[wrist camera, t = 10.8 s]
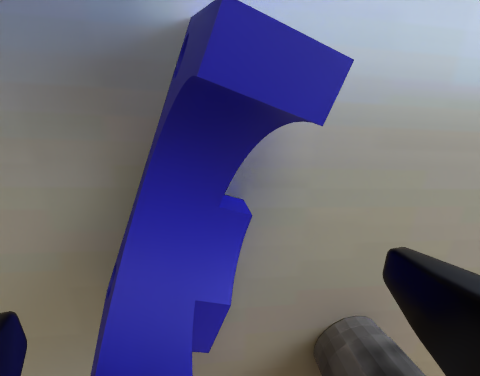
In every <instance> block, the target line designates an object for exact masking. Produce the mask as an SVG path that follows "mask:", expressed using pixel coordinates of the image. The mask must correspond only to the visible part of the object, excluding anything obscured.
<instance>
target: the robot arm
mask: <svg viewBox="0 0 480 376" xmlns="http://www.w3.org/2000/svg"><path fill="white" fill-rule="evenodd" d="M383 279H384V282H385V284H386V285H387V287H388V289H389V290H390V292H391V294H392V295H393V297H394V299H395V300H396V302H397V304H398V305H399V307H400V309H401V310H402V312H403V314H404V315H405V317H406V319H407V320H408V322H409V324H410V325H411V327H412V329H413V330H414V332H415V333H416V335H417V336H418V338H419V339H420V341H421V342H422V343H423V345H424V346H425V347H426V349H427V350H428V352H429V353H430V354H431V356H432V357H433V358H434V360H435V361H436V363H437V364H438V365H439V367H440V368H441V369H442V371H443V372H444V374H445V375H446V376H480V275H478V274H475V273H473V272H470V271H467V270H465V269H462V268H459V267H457V266H454V265H451V264H449V263H446V262H443V261H441V260H438V259H435V258H433V257H430V256H427V255H425V254H422V253H419V252H417V251H414V250H411V249H409V248H406V247H399V248H393V249H390V250H389V251H388V252H387V256H386V260H385V265H384V269H383ZM26 350H27V339H26V336H25V333H24V331H23V328H22V326H21V323H20V321H19V318H18V316H17V314H16V313H15V312H12V311H9V312H3V313H0V376H21V372H22V368H23V363H24V359H25V355H26Z"/></svg>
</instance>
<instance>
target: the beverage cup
mask: <svg viewBox="0 0 480 376" xmlns="http://www.w3.org/2000/svg"><path fill="white" fill-rule="evenodd" d="M314 357H315V359H316V362H317V364H318V366H319V369H320V372H321V375H322V376H426V375H425V374H424V373H423V372H422V371H421V370H420V369H419V368H418V367H417V366H416V365H415V364H414V363H413V362H412V360H411V359H410V358H409V357H408V356H407V355H406V354H405V353H404V352H403V351H402V350H401V349H400V348H399V347H398V345H397V344H396V343H395V342H394V341H393V340H392V339H391V338H390V337H388V336H387V335H386V334H385V333H384V332H383V331H382V330H381V329H380V328H379V327H378V326H377V325H376V324H375V322H374V321H373V320H372V319H370V318H367V317H364V316H354V317H350V318H345V319H343V320H341V321H339V322H337V323H335V324H333V325H332V326H331V327H329V328H328V329H327V330H325V331H324V333H323V334H322V335H321V336H320V337H319V339H318V340H317V343H316V345H315V347H314Z"/></svg>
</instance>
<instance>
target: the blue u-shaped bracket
mask: <svg viewBox="0 0 480 376" xmlns="http://www.w3.org/2000/svg"><path fill="white" fill-rule="evenodd" d="M353 61H354V60H353V59H351V58H349V57H347V56H345V55H344V54H342V53H340V52H338V51H336V50H334V49H332V48H330V47H328V46H326V45H324V44H322V43H320V42H318V41H316V40H314V39H312V38H310V37H308V36H306V35H304V34H303V33H301V32H299V31H297V30H295V29H293V28H291V27H289V26H287V25H285V24H283V23H281V22H279V21H277V20H275V19H273V18H271V17H269V16H267V15H265V14H263V13H262V12H260V11H258V10H256V9H254V8H252V7H250V6H248V5H246V4H244V3H242V2H240V1H238V0H215V1H213V2H212V3H210V4H209V5H208V6H206V7H205V8H204V9H202V10H201V11H199V12H198V13H197V14H195V15H194V16H192V17H191V19H190V22H189V25H188V29H187V32H186V35H185V38H184V42H183V45H182V48H181V51H180V55H179V58H178V61H177V64H176V68H175V71H174V74H173V77H172V81H171V84H170V87H169V90H168V94H167V97H166V100H165V103H164V107H163V110H162V113H161V116H160V120H159V123H158V126H157V129H156V133H155V136H154V139H153V142H152V146H151V149H150V152H149V155H148V159H147V162H146V165H145V168H144V172H143V175H142V178H141V181H140V185H139V188H138V191H137V195H136V198H135V201H134V204H133V208H132V211H131V214H130V217H129V221H128V224H127V227H126V230H125V234H124V237H123V240H122V243H121V247H120V250H119V253H118V256H117V260H116V263H115V266H114V269H113V273H112V276H111V279H110V282H109V286H108V289H107V293H106V299H105V304H104V309H103V314H102V319H101V324H100V330H99V335H98V340H97V345H96V350H95V355H94V361H93V366H92V371H91V376H192V352H203V353H209V351H210V349H211V347H212V345H213V342H214V340H215V338H216V336H217V334H218V332H219V330H220V327H221V325H222V323H223V321H224V319H225V317H226V314H227V312H228V310H229V308H230V306H231V298H232V289H233V283H234V276H235V271H236V266H237V261H238V257H239V253H240V249H241V246H242V242H243V239H244V236H245V233H246V230H247V228H248V225H249V223H250V220H251V218H252V214H251V212H250V211H249V209H248V207H247V205H246V203H245V202H244V200H242V199H239V198H235V197H231V196H227V195H224V194H225V192H226V190H227V188H228V186H229V184H230V182H231V180H232V178H233V176H234V175H235V173H236V171H237V170H238V168H239V166H240V165H241V163H242V162H243V161H244V159H245V158H246V156H247V155H248V154H249V153H250V152H251V150H252V149H253V148H254V147H255V146H256V145H257V144H258V143H259V142H260V141H261V140H262V139H263V138H264V137H265V136H267V135H268V134H269V133H271V132H272V131H274V130H275V129H277V128H279V127H281V126H283V125H286V124H289V123H293V122H302V121H304V122H312V123H315V124H318V125H321V126H323V124H324V122H325V120H326V118H327V116H328V114H329V112H330V110H331V108H332V105H333V103H334V101H335V99H336V97H337V95H338V93H339V91H340V89H341V86H342V84H343V82H344V80H345V78H346V76H347V74H348V72H349V70H350V67H351V65H352V63H353Z"/></svg>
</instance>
